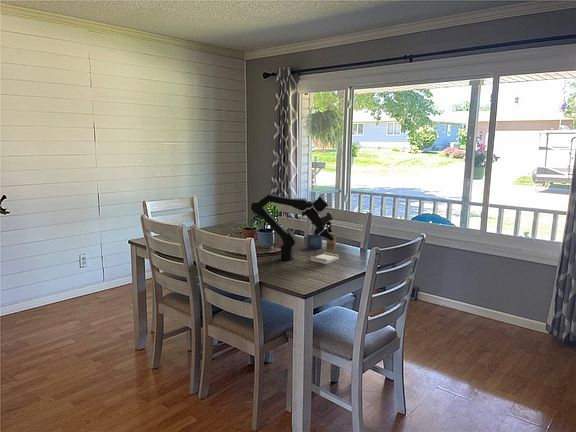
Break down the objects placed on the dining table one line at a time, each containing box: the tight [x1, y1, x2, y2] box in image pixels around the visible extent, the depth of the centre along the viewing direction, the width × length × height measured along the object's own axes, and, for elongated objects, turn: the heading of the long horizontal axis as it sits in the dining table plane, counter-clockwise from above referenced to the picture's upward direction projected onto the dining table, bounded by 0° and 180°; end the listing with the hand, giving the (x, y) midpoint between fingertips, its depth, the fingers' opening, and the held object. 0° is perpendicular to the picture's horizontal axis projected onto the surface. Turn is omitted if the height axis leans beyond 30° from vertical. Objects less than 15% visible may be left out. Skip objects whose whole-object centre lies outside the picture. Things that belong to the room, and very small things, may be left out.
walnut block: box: [325, 231, 337, 253], centre depth 233 cm, size 4×4×10 cm
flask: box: [306, 232, 323, 250], centre depth 264 cm, size 9×3×11 cm, turn 88°
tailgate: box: [309, 251, 340, 265], centre depth 240 cm, size 13×11×2 cm
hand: (333, 239), depth 233 cm, fingers closed on walnut block, 4 cm apart
